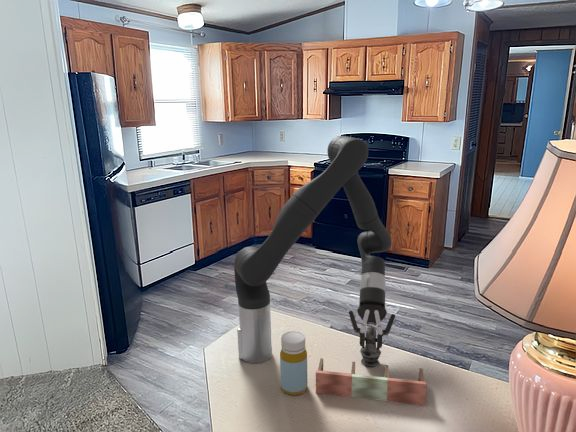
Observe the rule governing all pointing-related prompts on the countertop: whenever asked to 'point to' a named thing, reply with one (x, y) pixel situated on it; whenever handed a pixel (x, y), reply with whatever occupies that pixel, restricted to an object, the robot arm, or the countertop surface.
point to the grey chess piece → (370, 349)
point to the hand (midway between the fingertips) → (370, 348)
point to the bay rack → (371, 386)
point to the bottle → (293, 363)
